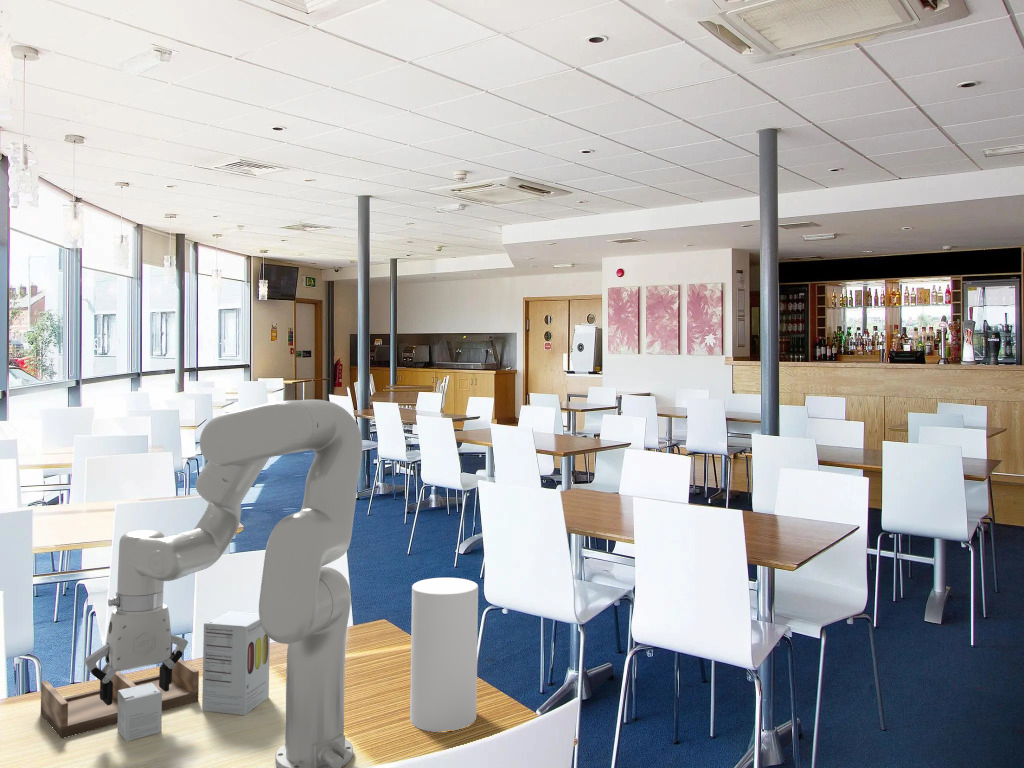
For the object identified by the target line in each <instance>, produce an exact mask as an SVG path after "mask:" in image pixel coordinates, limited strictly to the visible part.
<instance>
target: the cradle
mask: <svg viewBox="0 0 1024 768" xmlns="http://www.w3.org/2000/svg"><path fill="white" fill-rule="evenodd" d="M199 676H200V672H199V670H198V669H197V668H195V667H194V666H192V665H191V664H189V663H187V662H186V661H185V660H184V659H182V657H181V658H180V659H179V660H178V661H177V662H176V663H175V667H174V668H172V682H171V684H169V691H166V692H165V691H164V690H162V689H161V688H160V687H159V674H156V675H151V676H147V677H145V678H140V679H136V680H130V679H129V678H128V677H127V676H126V675H125V674H123V673H122V671H117V672H116V673H115V675H114V676H113V677H112V678H111V681H112V682H113V697H112V704H111V705H108V706H107V705H106V704H105V702H104V701H103V700H101V699H100V688H99V689H94V690H90V691H86V692H82V693H81V692H80V693H76V694H74V695H70V696H65V697H63V696H62V694H60V693H59V691H57V689H56V688H55V687H54V686H53V685H52V684H51V683H50V682H49V680H44V681H43V680H42V681H41V682H40V684H41V685H40V715H41V714H42V715H41V716H42V717H43V718H44V720H45V719H46V720H47V721H46V720H45V721H46V722H47V723H48V725H49V724H50V725H51V726H50V725H49V726H50V727H51V728H52V727H53V728H52V730H53V729H54V730H55V731H56V732H55V731H54V730H53V731H54V732H55V734H56V735H59V736H60V737H59V736H58V737H59V739H61V738H62V739H65V738H64V737H66V738H69V737H68V736H70V737H73V736H76V735H75V734H77V735H80V734H79V733H81V734H84V733H88V732H91V730H92V731H95V730H99V729H102V728H107V727H109V726H114V725H118V690H122V689H127V688H131V687H136V686H140V685H145V684H149V683H153V684H154V685H155V686H156V687H157V689H158V690H159V691H160V692H161V693H162V712H165V711H168V710H172V709H176V708H179V707H183V706H188V705H191V704H193V703H198V702H199V694H200V693H199V686H200V682H199V678H200V677H199ZM87 731H88V732H87ZM83 732H84V733H83ZM72 735H73V736H72Z"/></svg>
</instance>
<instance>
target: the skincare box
mask: <svg viewBox="0 0 1024 768" xmlns="http://www.w3.org/2000/svg"><path fill="white" fill-rule="evenodd" d="M162 713H163V711H162V693H161V692H160V691H159V690H158V689H157V687H156V686H155V685H154V684H153V683H149V684H145V685H140V686H136V687H131V688H127V689H122V690H118V724H117V731H118V733H119V734H120V735H121V737H122V738H123V739H124V741H125V742H131V741H134V740H138V739H141V738H145V737H147V736H148V737H149V736H153V735H156V734H159V733H160V734H161V733H162V731H163V728H162V723H163V722H162Z"/></svg>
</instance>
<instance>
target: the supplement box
mask: <svg viewBox="0 0 1024 768" xmlns="http://www.w3.org/2000/svg"><path fill="white" fill-rule="evenodd" d="M270 641H271V638H270V637H268V636H267V634H266V633H265V632H264V630H263V628H262V625H261V623H260V618H259V612H250V611H240V610H239V611H238V610H229V611H227V612H225V613H223V614H221V615H219V616H218V617H215V618H212V619H211V620H209V621H206V622H204V623H203V643H202V644H203V647H202V651H203V652H202V653H203V655H202V696H201V697H202V701H201V702H202V703H201V704H202V706H201V707H202V708H201V710H202V711H205V712H213V713H220V714H221V713H223V714H228V715H229V714H232V715H238V716H245V715H247V714H248V713H249V712H251V711H252V710H253V709H254V708H256V707H257V706H259V705H260V704H261V703H263V702H264V701H265V700H267V699H268V698H269V695H270V691H269V689H270V654H271V653H270V649H271V648H270V647H271V646H270V644H271V643H270Z"/></svg>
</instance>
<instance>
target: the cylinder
mask: <svg viewBox="0 0 1024 768" xmlns="http://www.w3.org/2000/svg"><path fill="white" fill-rule="evenodd" d="M478 621H479V585H478V583H476V581H472V580H470V579H466V578H459V577H434V578H426V579H423V580H422V579H421V580H418V581H417V582H415V583H413V584H412V585H411V630H410V631H411V633H410V634H411V636H410V638H411V639H410V645H411V646H410V695H409V696H410V699H409V701H410V702H409V703H410V704H409V705H410V706H409V707H410V708H409V709H410V711H409V713H410V714H409V715H410V716H409V719H410V720H409V721H410V723H411V724H412V726H414V727H415V728H417V729H419V730H422V731H425V732H430V731H431V732H430V733H439V732H438V731H448V730H457V729H461V728H463V727H467V726H468V725H470V724H472V723H473V722H474V721H475V720H477V711H478V710H477V705H478V704H477V702H478V699H477V698H478V697H477V696H478V692H477V691H478V690H477V689H478V642H479V641H478V637H479V636H478V635H479V634H478V632H479V631H478V630H479V629H478V627H479V626H478V625H479V622H478ZM475 722H476V721H475ZM475 722H474V723H475ZM474 723H473V724H474ZM473 724H472V725H473ZM467 728H468V727H467Z"/></svg>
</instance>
